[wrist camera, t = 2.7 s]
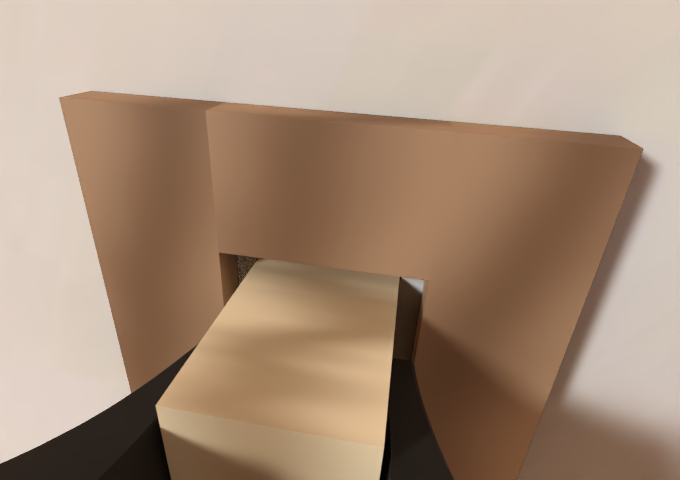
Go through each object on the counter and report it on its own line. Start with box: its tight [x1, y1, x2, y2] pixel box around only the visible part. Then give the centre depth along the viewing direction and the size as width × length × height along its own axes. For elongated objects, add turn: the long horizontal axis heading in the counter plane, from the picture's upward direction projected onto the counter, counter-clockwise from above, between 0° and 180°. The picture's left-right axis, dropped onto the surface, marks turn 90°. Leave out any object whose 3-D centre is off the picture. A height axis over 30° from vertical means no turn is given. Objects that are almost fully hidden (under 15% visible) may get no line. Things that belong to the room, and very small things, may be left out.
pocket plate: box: [59, 91, 643, 480], centre depth 14 cm, size 14×14×1 cm
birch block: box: [155, 258, 400, 480], centre depth 12 cm, size 4×4×6 cm
